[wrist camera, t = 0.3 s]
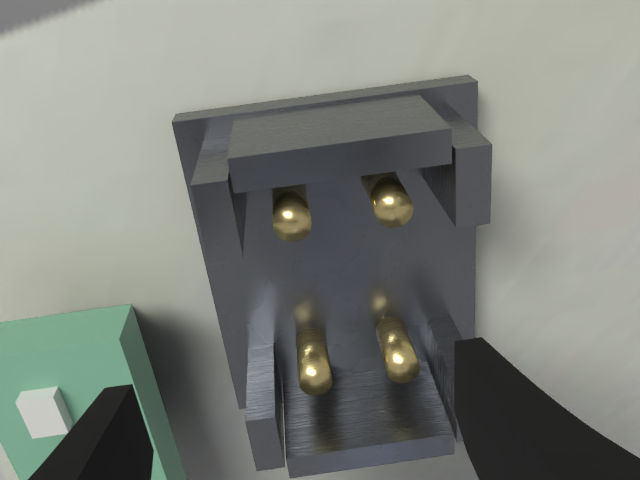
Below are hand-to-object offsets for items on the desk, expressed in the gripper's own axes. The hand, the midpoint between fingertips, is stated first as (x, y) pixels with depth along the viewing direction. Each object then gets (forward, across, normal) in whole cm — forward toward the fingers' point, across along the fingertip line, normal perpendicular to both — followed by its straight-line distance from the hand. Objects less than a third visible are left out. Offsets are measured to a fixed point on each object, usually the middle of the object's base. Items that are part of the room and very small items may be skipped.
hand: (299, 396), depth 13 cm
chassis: (+10, -2, +2) cm, 10 cm away
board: (+7, +8, +6) cm, 13 cm away
